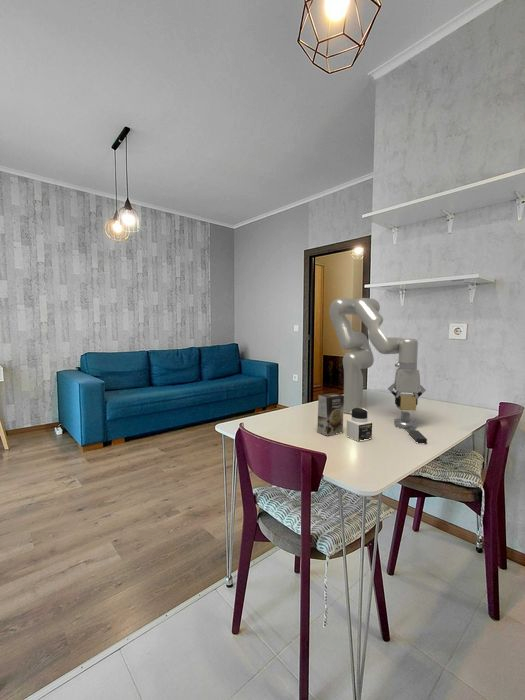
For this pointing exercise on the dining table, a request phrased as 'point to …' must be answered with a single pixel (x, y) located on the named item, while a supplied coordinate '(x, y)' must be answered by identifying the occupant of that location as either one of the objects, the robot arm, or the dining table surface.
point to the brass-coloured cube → (407, 402)
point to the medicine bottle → (359, 425)
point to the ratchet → (409, 427)
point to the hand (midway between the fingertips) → (406, 405)
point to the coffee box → (330, 413)
